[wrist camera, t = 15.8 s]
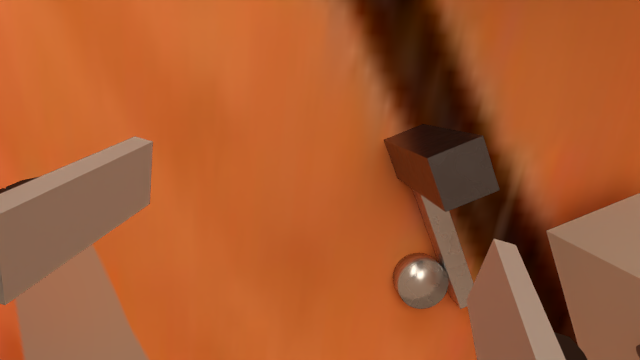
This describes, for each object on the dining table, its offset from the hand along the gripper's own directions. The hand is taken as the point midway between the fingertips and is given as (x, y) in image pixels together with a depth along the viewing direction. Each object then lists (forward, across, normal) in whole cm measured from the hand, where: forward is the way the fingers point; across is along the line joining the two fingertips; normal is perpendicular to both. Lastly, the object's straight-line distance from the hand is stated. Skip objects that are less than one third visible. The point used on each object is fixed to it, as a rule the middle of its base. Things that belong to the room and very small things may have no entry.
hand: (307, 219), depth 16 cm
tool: (+25, +9, -10) cm, 28 cm away
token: (+24, +9, -16) cm, 30 cm away
